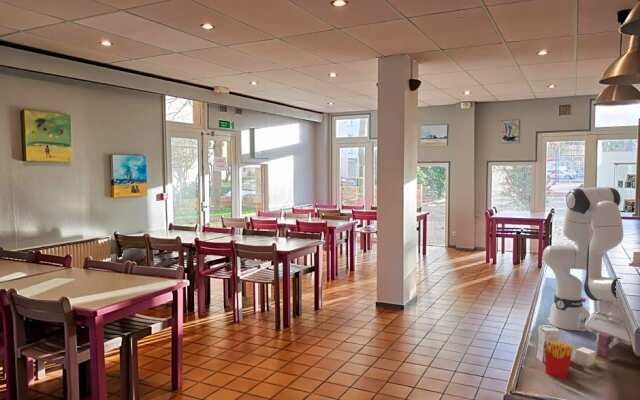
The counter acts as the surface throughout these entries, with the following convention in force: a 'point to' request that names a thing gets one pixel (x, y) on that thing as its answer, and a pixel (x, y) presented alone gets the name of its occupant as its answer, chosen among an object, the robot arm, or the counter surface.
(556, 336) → the syrup box
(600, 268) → the robot arm
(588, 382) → the counter surface
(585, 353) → the cream cube
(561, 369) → the french fries
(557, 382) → the counter surface
